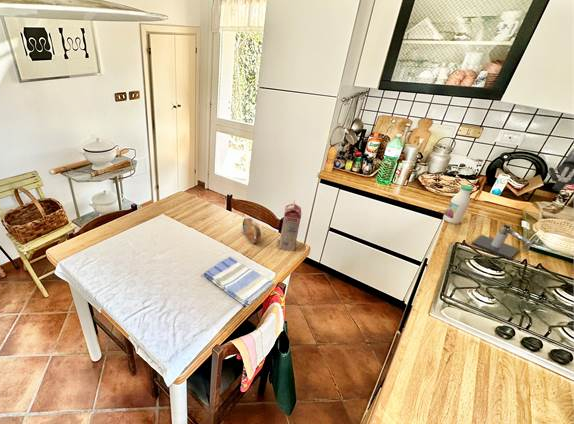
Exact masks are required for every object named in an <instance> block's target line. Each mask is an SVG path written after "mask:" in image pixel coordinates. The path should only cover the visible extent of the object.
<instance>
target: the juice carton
mask: <svg viewBox="0 0 574 424" xmlns="http://www.w3.org/2000/svg"><path fill="white" fill-rule="evenodd" d="M301 219H302V207H301V206H299V205H297V204H296V203H295V199H294V200H293V203H289V204H286V205H285V208H284V215H283V220H282V225H281V231H280V237H279V238H280V239H279V246H278V248H279V249H282V250H286V251H287V250H288V251H293V252H294V251H295V249H296V243H297V239H298V234H299V229H300V224H301Z"/></svg>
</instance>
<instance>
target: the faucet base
mask: <svg viewBox="0 0 574 424" xmlns="http://www.w3.org/2000/svg"><path fill="white" fill-rule="evenodd" d="M508 236H509V234H508V235H503V234H501V233H499V230H498V231H497V232H496V234H495V236H494V238H492V237H489V236H486V235H484V234H481V235H480V236H478V238H476V239H475V240H474V241H472V242H471V245H472V246H474V247H476V248H480V249H482V250H485V251H487V252H489V253H492V254H494V255H497V256H499V257H502V258H504V257H505V259H507V258H508V259H507V260H509V259H510V260H511V259H512V258H513V257H514V256H515V255H516V254H517V253H518V252H519V251H520V248H518V247H515V246H514V245H510V244H508V243H506V242H505V241H506V240H507V238H508Z"/></svg>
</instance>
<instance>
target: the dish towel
mask: <svg viewBox="0 0 574 424" xmlns="http://www.w3.org/2000/svg"><path fill="white" fill-rule="evenodd" d="M203 276H204V277H205V278H207V279H208V280H210V281H211V282H212V283H213V284H215V285H216V286H217V287H219V288H220V289H221V290H223V291H224V292H225V293H226V294H227V295H229V296H230V297H231V298H233V299H235V300H236V301H238V302H239V303H240V304H242V305H244V307H246V308H248V307H251V306H252V305H253V304H255V303H256V302H257V301H258V300H260V299H261V298H262V297H263V296H264V295H265V294H267V293H268V292H269V291H270V290H271V289H273V288H274V286H275V285H276V284H275V282H274V281H273V280H271V279H269V278H268V277H266V276H264V275H262V274H260V273H259V272H258V271H255V270H254V269H252V268H250V267H248V266H247V265H245V264H243V263H240V262H239V261H238V260H236V259H235V258H233V257H232V256H229V257H227V258H226V259H224V260H221V261H220V262H219V263H217V264H216V265H215V266H213V267H211V268H209V269H208V270H206V271H205V272H204V273H203Z"/></svg>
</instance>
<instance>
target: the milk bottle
mask: <svg viewBox="0 0 574 424" xmlns="http://www.w3.org/2000/svg"><path fill="white" fill-rule="evenodd" d="M473 189H474V188H473V186H470V185H466V184H463V185H461V186H460V188H459V191H458V192H457V193H456V194H454V195H453V196H452V198H451V199H450V201H449V203H448V206H447V208H446V210H445V211H444V213H443V216H442V220H443V221H445V222H447V223H449V224H453V225H457V224H458V225H459V224H460V223H461V222H462V220H463V218H464V216H465V214H466V212H467V211H468V207H469V205H470V203H471V196H470V195H471V193H472V191H473Z"/></svg>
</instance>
